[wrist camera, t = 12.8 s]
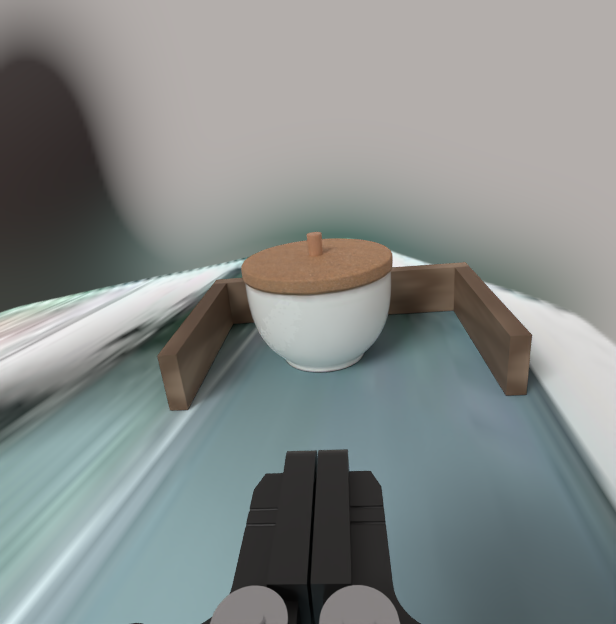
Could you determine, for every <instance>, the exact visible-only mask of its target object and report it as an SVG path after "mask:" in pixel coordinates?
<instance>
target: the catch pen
mask: <svg viewBox="0 0 616 624" xmlns="http://www.w3.org/2000/svg"><path fill="white" fill-rule="evenodd" d="M453 310H454V312H455V314H456V315H457V317H458V318H459V320H460V322H461V323H462V325H463V327H464V328H465V330H466V331H467V333H468V335H469V336H470V338H471V340H472V341H473V343H474V344H475V346H476V348H477V349H478V351H479V353H480V354H481V356H482V357H483V359H484V361H485V362H486V364H487V366H488V367H489V369H490V370H491V372H492V374H493V375H494V377H495V379H496V380H497V382H498V383H499V385H500V387H501V388H502V390H503V392H504V393H505V395H506V396H507V395H526V393H527V382H528V372H529V361H530V351H531V340H532V334H531V333H530V332H529V331H528V330H527V329H526V328H525V327H524V326H523V325H522V324H521V322H520V321H519V320H518V319H517V318H516V317H515V316H514V315H513V314H512V313H511V312H510V310H509V309H508V308H507V307H506V306H505V305H504V304H503V303H502V302H501V301H500V300H499V298H498V297H497V296H496V295H495V294H494V293H493V292H492V291H491V290H490V289H489V287H488V286H487V285H486V284H485V283H484V282H483V281H482V280H481V279H480V278H479V277H478V276H477V275H476V273H475V272H474V271H473V270H472V269H471V268H470V267H469V266H468V265H467V263H465V262H463V263H449V264H435V265H420V266H406V267H392V269H391V297H390V306H389V311H388V314H404V313H420V312H436V311H453ZM240 323H255V322H254V320H253V317H252V314H251V311H250V307H249V303H248V298H247V292H246V285H245V282H244V280H243V278H235V279H220V280H216V281H215V282H214V284H213V285H212V286H211V288H210V289H209V290H208V291H207V293H206V294H205V295H204V297H203V298H202V299H201V300H200V302H199V303H198V304H197V305H196V307H195V308H194V309H193V311H192V312H191V313H190V314H189V316H188V317H187V318H186V320H185V321H184V322H183V323H182V325H181V326H180V327H179V328H178V330H177V331H176V332H175V334H174V335H173V336H172V337H171V339H170V340H169V341H168V343H167V344H166V345H165V346H164V348H163V349H162V350H161V352H160V353H159V354H158V355H157V357H158V361H159V366H160V370H161V374H162V378H163V383H164V387H165V391H166V395H167V399H168V404H169V408H170V410H188V409H189V407H190V405H191V403H192V401H193V399H194V397H195V395H196V393H197V392H198V390H199V388H200V386H201V384H202V382H203V380H204V378H205V376H206V374H207V373H208V371H209V369H210V367H211V365H212V363H213V361H214V359H215V357H216V355H217V354H218V352H219V350H220V348H221V346H222V344H223V342H224V340H225V338H226V336H227V335H228V333H229V331H230V329H231V327H232V325H233V324H240Z"/></svg>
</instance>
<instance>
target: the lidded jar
mask: <svg viewBox="0 0 616 624" xmlns="http://www.w3.org/2000/svg"><path fill="white" fill-rule="evenodd" d="M391 269H392V253H391V251H390V250H389V249H388V248H387V247H386V246H383V245H381V244H378V243H375V242H371V241H365V240H359V239H322V236H321V233H320V232H312V233H308V234H307V241H300V242H294V243H288V244H283V245H280V246H276V247H272V248H268V249H266V250H263V251H260V252H258V253H256V254H254V255H252V256H250V257H249V258H247V259H246V260H245V261H244V263H243V264H242V268H241V270H242V277H243V280H244V282H245V285H246V292H247V298H248V303H249V307H250V311H251V314H252V317H253V320H254V322H255V325H256V327H257V329H258V332H259V333H260V335H261V337H262V338H263V340H264V341H265V342H266V343H267V345H268V346H269V347H270V348H271V349H272V350H273V351H274V352H276V353H277V354H278V355H280V356H281V357H283V358H285V359H286V361H287V363H288V364H289V365H291V366H292V367H294V368H296V369H299V370H303V371H308V372H330V371H336V370H341V369H344V368H347V367H349V366H351V365H353V364H355V363H357V362H358V361H359V360H360V359H361V358H362V357H363V355H364V352H365V351H366V350H368V349H369V348H370V347H371V345H372V344H373V343H374V342H375V341H376V340H377V338H378V337H379V335H380V333H381V332H382V330H383V327H384V325H385V322H386V320H387V316H388V311H389V306H390V297H391Z"/></svg>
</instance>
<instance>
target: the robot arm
mask: <svg viewBox="0 0 616 624" xmlns="http://www.w3.org/2000/svg"><path fill="white" fill-rule="evenodd" d="M133 624H142V623H133ZM202 624H421V623H419V622H417V621H416V620H415V619H413V618H412V617H411V616H410V615H409V614H408V613H407V612H406V611H405V610H404V609H403V608H402V606H401V605H400V603H399V601H398V600H397V598H396V595H395V592H394V588H393V582H392V573H391V565H390V556H389V548H388V539H387V531H386V524H385V514H384V506H383V497H382V489H381V485H380V484H379V483H378V481H377V480H376V478H375V477H374V475H373V474H372V472H371V471H349V460H348V449H344V450H319V451H318V456H317V451H316V450H315V451H287V453H286V459H285V465H284V472H283V473H273V474H265V476H264V477H263V478H262V480H261V481H260V482H259V484H258V485H257V486H256V488H255V489H254V492H253V496H252V501H251V505H250V512H249V514H248V518H247V523H246V527H245V532H244V536H243V541H242V545H241V549H240V554H239V558H238V563H237V567H236V572H235V576H234V581H233V585H232V588H231V592H230V594H229V595H228V596H227V597H226V598H225V599H224V600H223V601H222V602H221V603H220V604H219V605H218V607H217V608H216V610H215V612H214V614H213V616H212V617H211V618H210V619H208V620H207V621H205V622H204V623H202Z"/></svg>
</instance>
